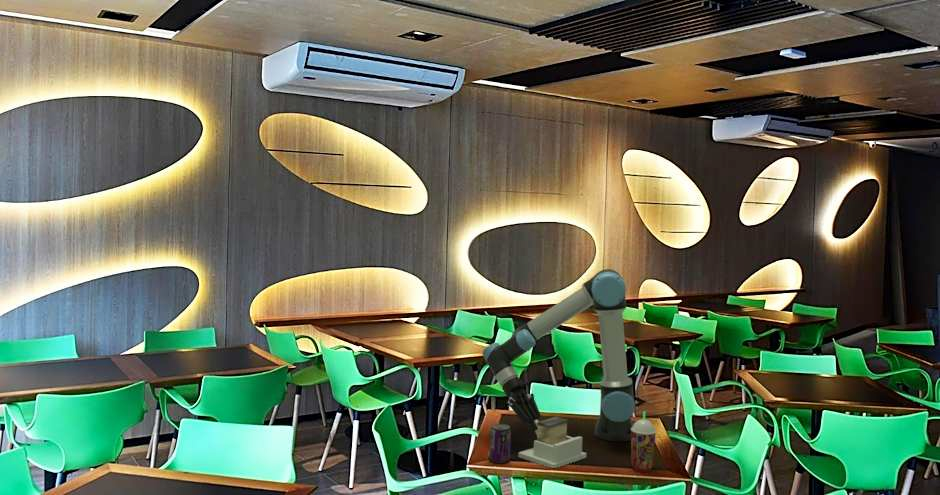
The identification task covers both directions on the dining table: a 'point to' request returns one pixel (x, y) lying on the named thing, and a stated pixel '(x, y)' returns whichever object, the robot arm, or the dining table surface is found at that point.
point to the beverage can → (500, 443)
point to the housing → (555, 452)
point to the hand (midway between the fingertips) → (543, 437)
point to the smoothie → (642, 444)
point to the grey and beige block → (552, 430)
